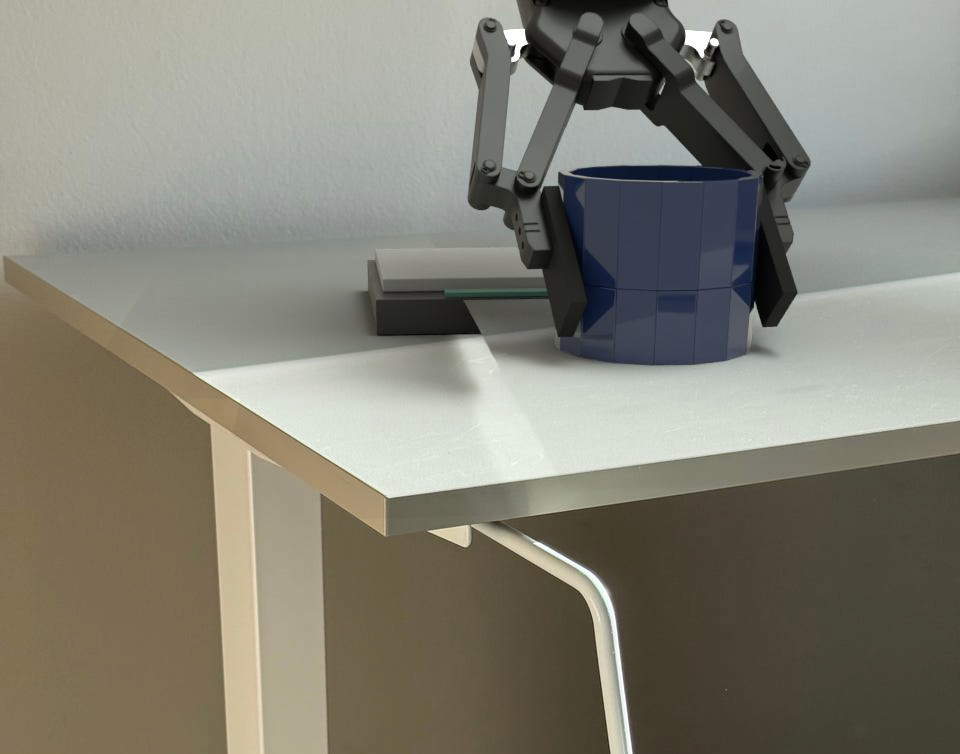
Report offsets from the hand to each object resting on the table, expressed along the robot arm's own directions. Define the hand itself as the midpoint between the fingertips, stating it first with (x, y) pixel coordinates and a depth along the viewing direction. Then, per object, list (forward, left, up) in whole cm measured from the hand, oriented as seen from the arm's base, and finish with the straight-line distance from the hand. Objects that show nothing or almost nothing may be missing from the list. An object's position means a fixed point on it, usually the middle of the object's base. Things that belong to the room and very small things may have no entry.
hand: (678, 315), depth 68 cm
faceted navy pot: (0, -3, -4) cm, 5 cm away
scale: (+6, -25, -4) cm, 26 cm away
